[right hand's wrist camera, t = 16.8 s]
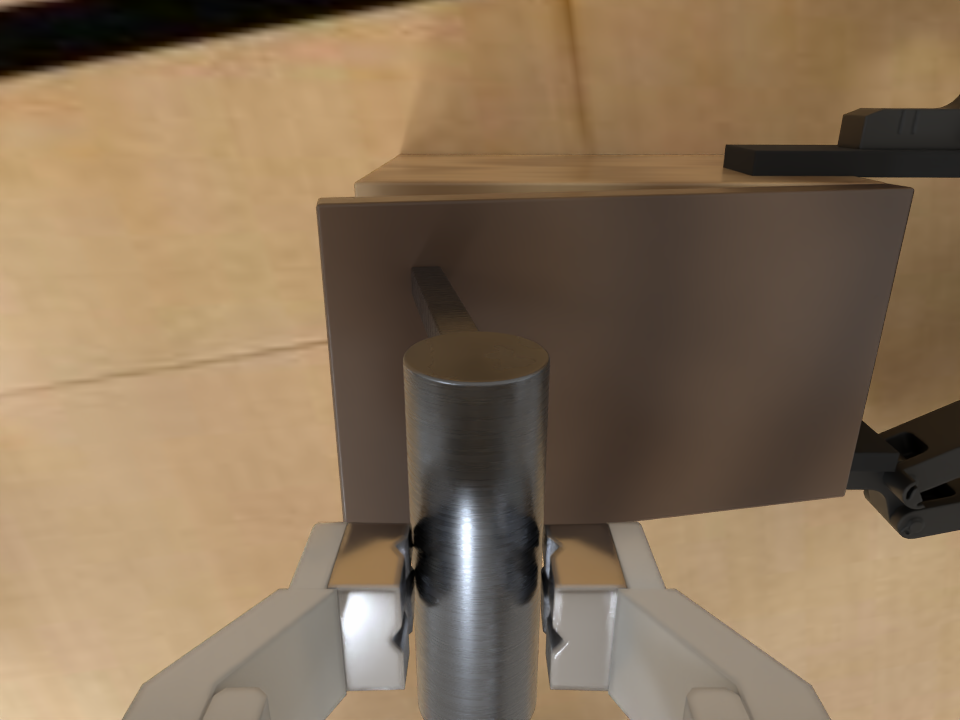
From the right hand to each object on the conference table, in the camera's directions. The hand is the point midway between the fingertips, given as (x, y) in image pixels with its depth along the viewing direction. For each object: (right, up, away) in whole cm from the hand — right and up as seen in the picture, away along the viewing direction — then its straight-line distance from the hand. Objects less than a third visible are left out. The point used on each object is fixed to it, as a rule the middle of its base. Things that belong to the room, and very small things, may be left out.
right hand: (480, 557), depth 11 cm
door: (+4, +3, +8) cm, 9 cm away
